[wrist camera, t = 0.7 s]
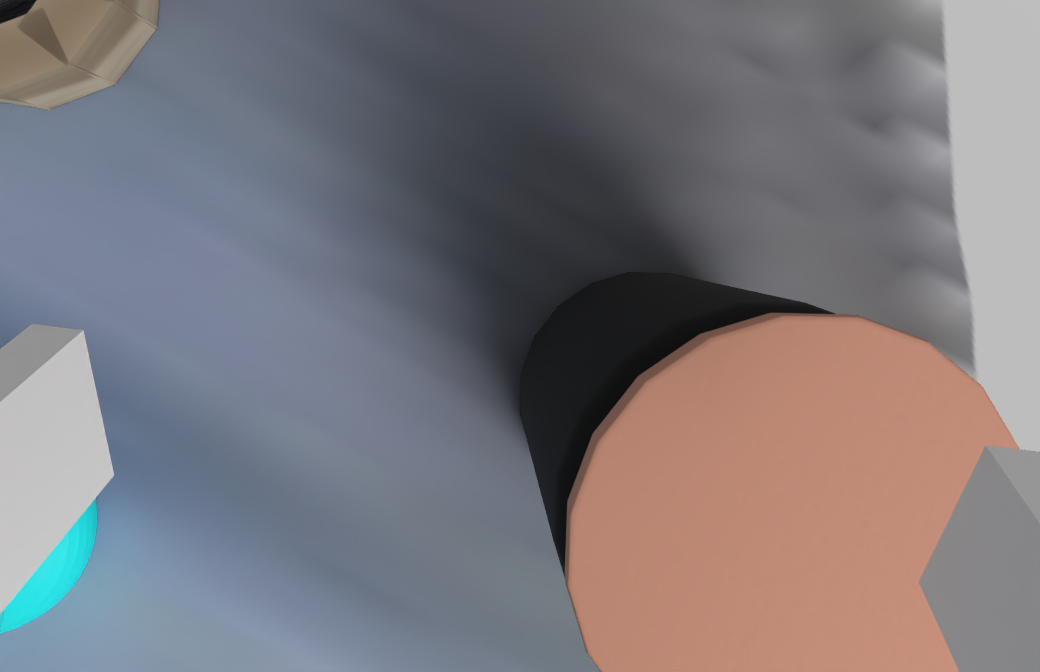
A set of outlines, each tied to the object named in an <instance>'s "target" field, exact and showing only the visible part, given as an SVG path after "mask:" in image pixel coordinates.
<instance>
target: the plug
mask: <svg viewBox="0 0 1040 672" xmlns="http://www.w3.org/2000/svg"><path fill="white" fill-rule="evenodd" d="M36 1H37V0H0V24H1V23H4V22H7V21H9V20H12V19H15V18H17V17H20V16H22V15H25V14H27V13H28V12H29V10H30V9H31V8H32V6H33V5H34V3H35V2H36Z"/></svg>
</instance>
